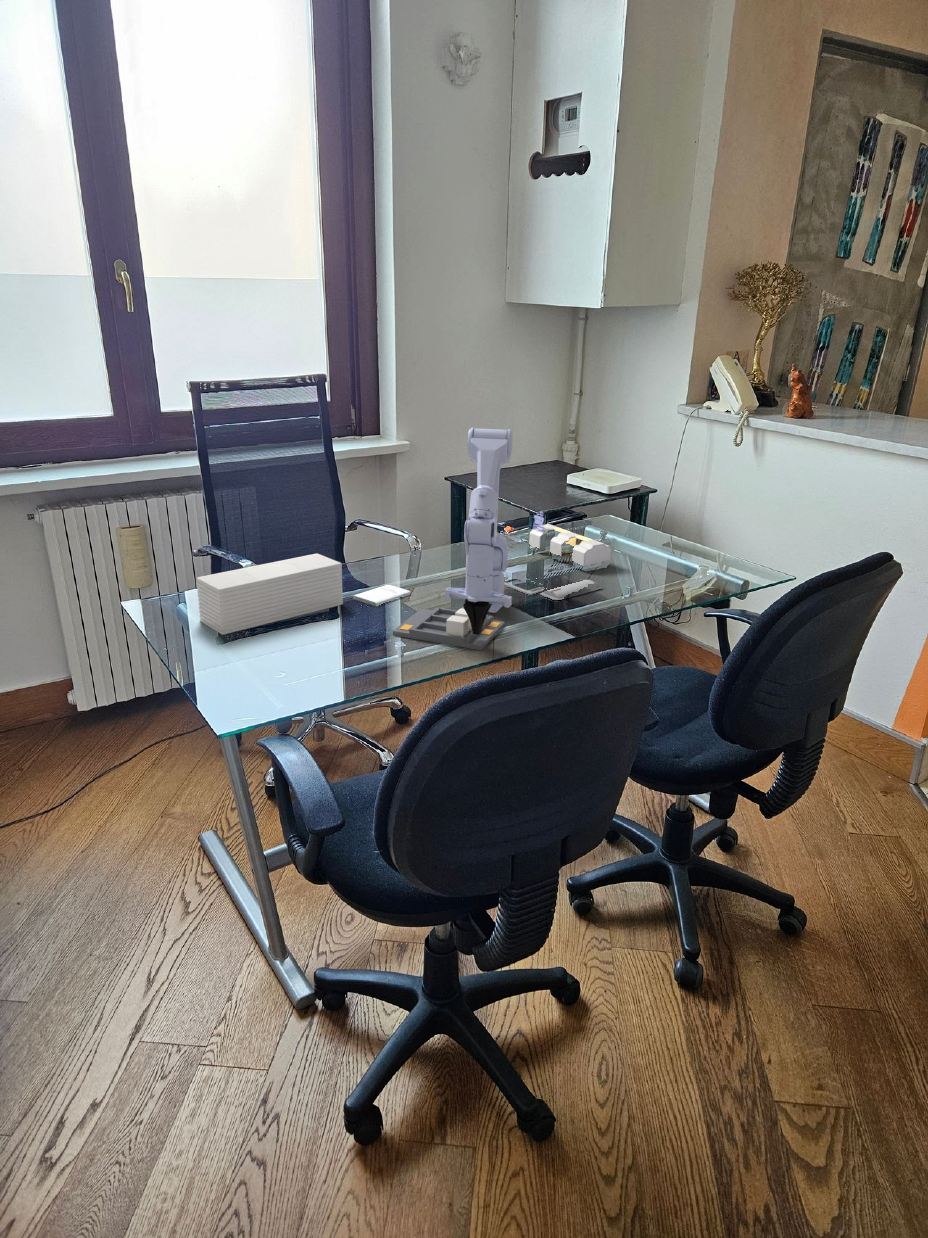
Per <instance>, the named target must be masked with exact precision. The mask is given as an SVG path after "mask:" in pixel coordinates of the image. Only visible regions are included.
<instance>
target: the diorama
mask: <svg viewBox="0 0 928 1238" xmlns="http://www.w3.org/2000/svg"><path fill="white" fill-rule="evenodd" d="M533 519H534V521H533V524H532V525H533V526H532V529H531V531H530V532H529V541H528V545H529V544H530V545H531V546H532V547H537V548H539V549H540V550H541V542H542V541H541V539H542V536H543V535H547V534H548V532H549V531H555V532H554V536H553V537H552V539H550V541H549V544H550V545H549V553H550V552H551V553H553V554H556V555H560V556H561V557H562V556H563V551H562V545H563V543H566V544H570V545H572V546H574V548H573V553H572V555H571V562H572V561H574V562H576V563H578V564H580V565H583V566H584V565H591V564H595V563H600V562H603V561H606V560H611V561H612V552H613V548H612V547H611V546H610V545H608V544H605V543H603V542H600V541H597V540H595V539H592V538H589V537H586V536H583V535H581V534H578V533H575V532H572V531H569V530H566V529H563V528H561V527H558V526H555V525H553V524H550V523H547V524H544V521H545V518H544V511H538V513H537V514H536V515H535V514H534V517H533Z"/></svg>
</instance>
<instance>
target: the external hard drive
mask: <svg viewBox="0 0 928 1238" xmlns="http://www.w3.org/2000/svg"><path fill="white" fill-rule="evenodd" d="M411 593H412V592H411V591H410V590H408V589H405V588H402V587H398V586H394V585H392V584H386V585H382V586H380V587H376V588H373V589H370V590H367V591H363V592H360V593H357V594H354V595H353V596H352V600H355V601H357V602H361V603H363V604H364V603H365V604H367V605H370V606H373V607H380V606H382V605H381V604H383V603H385V602H388V603H390V602H389V601H391V600H394V599H396V598H399V599H401V598H400V597H402V598H404V597H407V596H410V595H411ZM394 601H395V600H394ZM391 602H392V601H391ZM385 604H386V603H385ZM379 605H380V606H379ZM383 605H384V604H383Z"/></svg>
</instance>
